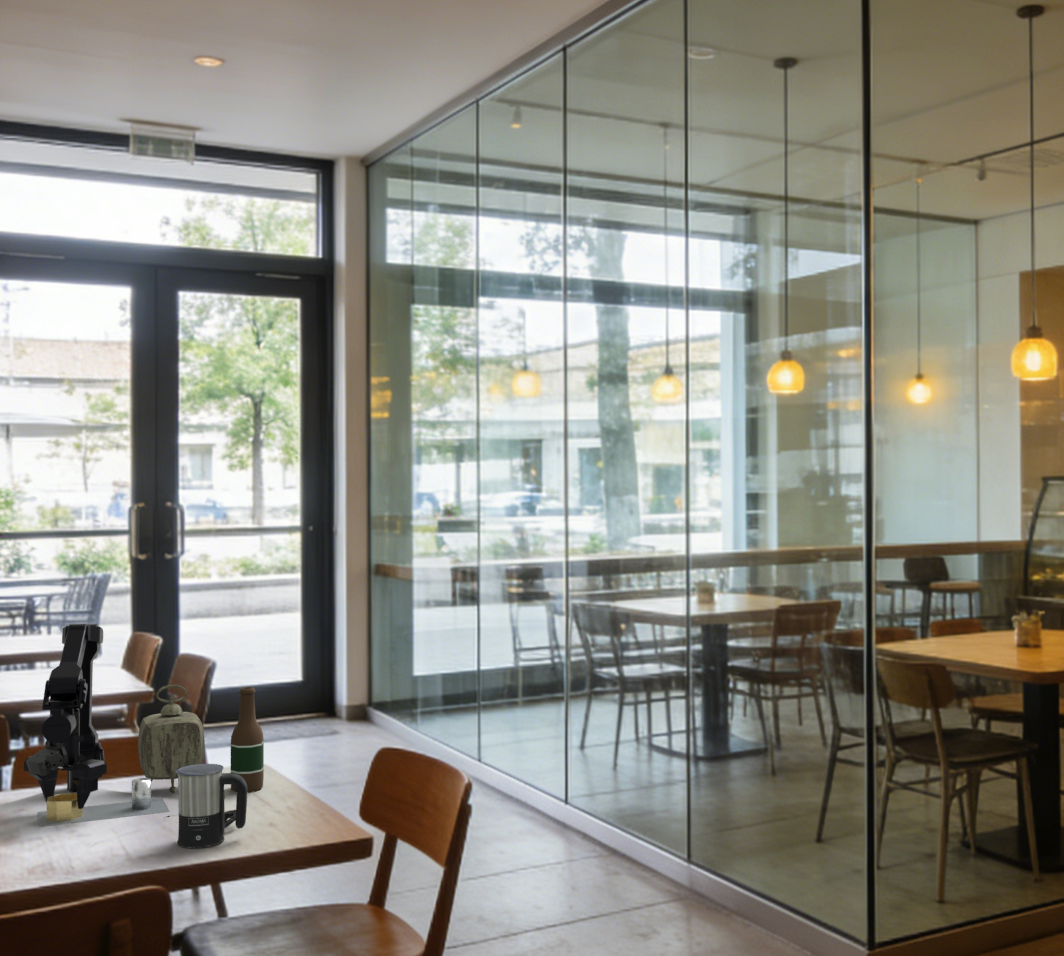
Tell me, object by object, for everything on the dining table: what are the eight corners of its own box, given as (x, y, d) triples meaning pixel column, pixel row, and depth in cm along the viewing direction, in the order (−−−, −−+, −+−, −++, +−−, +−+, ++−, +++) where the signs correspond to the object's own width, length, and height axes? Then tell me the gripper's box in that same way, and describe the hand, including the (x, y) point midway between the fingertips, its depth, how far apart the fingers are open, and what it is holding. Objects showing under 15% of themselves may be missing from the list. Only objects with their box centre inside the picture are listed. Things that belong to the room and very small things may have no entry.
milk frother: (180, 852, 220) (180, 776, 220) (166, 830, 234) (167, 759, 234) (253, 841, 226) (253, 768, 227) (235, 821, 240) (235, 752, 241)
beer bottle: (270, 786, 269) (270, 686, 270) (252, 794, 262) (252, 691, 263) (242, 783, 272) (242, 684, 272) (223, 791, 265) (223, 689, 265)
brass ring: (39, 818, 238) (39, 799, 238) (65, 810, 245) (65, 791, 245) (63, 822, 235) (63, 803, 236) (89, 813, 242) (89, 795, 242)
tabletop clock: (200, 783, 272) (201, 680, 273) (205, 792, 264) (206, 685, 264) (137, 789, 266) (138, 684, 267) (141, 799, 258) (141, 690, 259)
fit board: (39, 832, 232) (39, 797, 233) (37, 817, 243) (37, 784, 243) (169, 817, 244) (169, 783, 244) (162, 803, 254) (162, 771, 255)
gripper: (2, 736, 237) (2, 810, 237) (67, 744, 229) (67, 821, 229) (45, 726, 247) (44, 797, 247) (108, 734, 239) (108, 807, 239)
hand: (64, 806), depth 240 cm, fingers open, 9 cm apart
